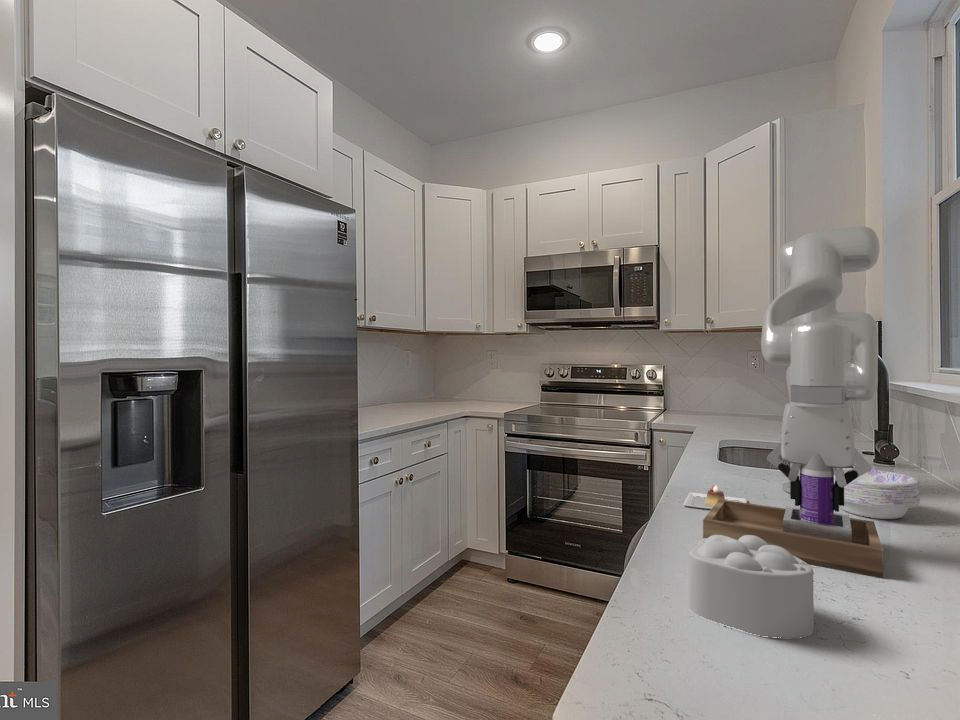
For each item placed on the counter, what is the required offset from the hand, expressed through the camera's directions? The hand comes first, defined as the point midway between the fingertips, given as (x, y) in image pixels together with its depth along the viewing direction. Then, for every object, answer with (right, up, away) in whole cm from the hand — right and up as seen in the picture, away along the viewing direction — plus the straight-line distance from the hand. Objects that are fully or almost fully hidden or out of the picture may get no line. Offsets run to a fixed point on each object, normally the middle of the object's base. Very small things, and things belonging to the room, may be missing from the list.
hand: (816, 505), depth 83 cm
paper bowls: (+25, -8, +20) cm, 33 cm away
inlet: (0, -7, 0) cm, 7 cm away
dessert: (-4, -8, +26) cm, 28 cm away
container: (0, -5, 0) cm, 5 cm away
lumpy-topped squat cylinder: (-23, -7, -22) cm, 32 cm away
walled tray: (-3, -7, +2) cm, 8 cm away
